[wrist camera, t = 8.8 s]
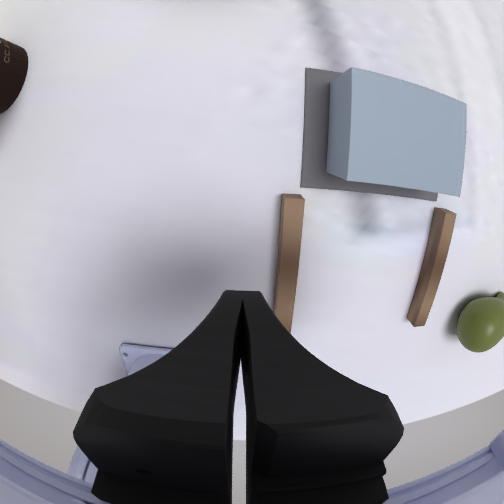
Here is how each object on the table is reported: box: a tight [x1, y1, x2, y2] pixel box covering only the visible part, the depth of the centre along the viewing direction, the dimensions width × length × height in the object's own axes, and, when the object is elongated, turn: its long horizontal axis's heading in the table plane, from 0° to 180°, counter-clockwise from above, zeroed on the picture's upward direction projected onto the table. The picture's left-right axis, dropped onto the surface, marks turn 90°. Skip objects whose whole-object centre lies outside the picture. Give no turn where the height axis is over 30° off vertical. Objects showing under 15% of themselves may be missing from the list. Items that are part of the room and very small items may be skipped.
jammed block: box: [326, 67, 466, 197], centre depth 14 cm, size 6×8×4 cm
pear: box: [457, 292, 504, 352], centre depth 20 cm, size 6×5×10 cm
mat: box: [301, 68, 438, 201], centre depth 16 cm, size 8×11×1 cm
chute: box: [273, 194, 456, 333], centre depth 19 cm, size 10×13×2 cm
